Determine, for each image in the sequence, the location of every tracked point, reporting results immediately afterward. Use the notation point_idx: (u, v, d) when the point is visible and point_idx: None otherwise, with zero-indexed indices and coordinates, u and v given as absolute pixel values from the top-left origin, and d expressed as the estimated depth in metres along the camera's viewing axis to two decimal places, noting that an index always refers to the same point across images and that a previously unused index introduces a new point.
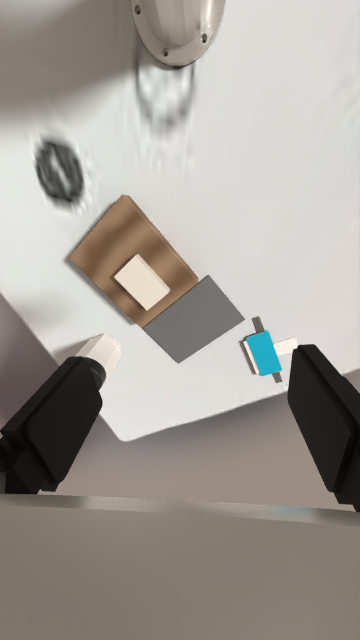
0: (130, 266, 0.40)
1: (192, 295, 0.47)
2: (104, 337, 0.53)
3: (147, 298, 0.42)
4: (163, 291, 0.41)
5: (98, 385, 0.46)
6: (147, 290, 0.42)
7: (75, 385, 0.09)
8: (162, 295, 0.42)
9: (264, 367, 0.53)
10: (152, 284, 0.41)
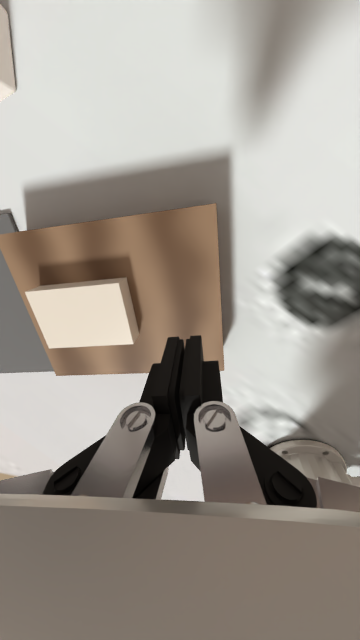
0: (120, 325, 0.20)
1: None
2: None
3: (50, 310, 0.20)
4: (54, 341, 0.22)
5: None
6: (65, 320, 0.20)
7: (182, 362, 0.09)
8: (47, 336, 0.21)
9: None
10: (73, 334, 0.21)
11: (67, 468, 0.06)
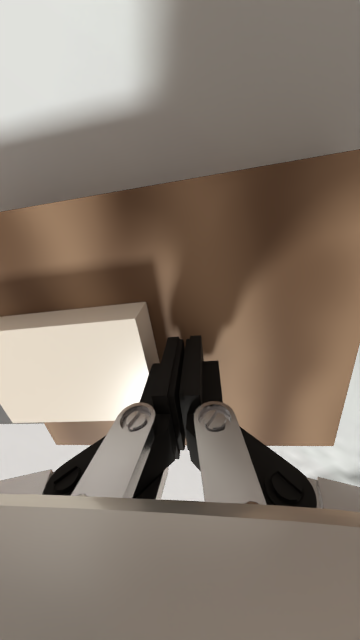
0: (138, 390, 0.11)
1: None
2: None
3: (6, 366, 0.11)
4: (20, 413, 0.12)
5: None
6: (36, 382, 0.11)
7: (182, 362, 0.09)
8: (7, 405, 0.12)
9: None
10: (51, 403, 0.12)
11: (67, 469, 0.06)
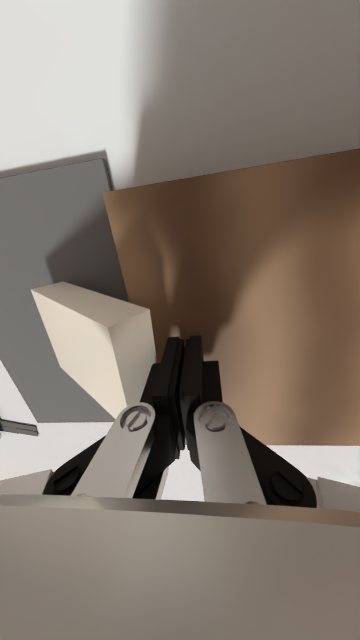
0: (117, 398, 0.10)
1: None
2: None
3: (51, 324, 0.13)
4: (62, 363, 0.15)
5: None
6: (65, 346, 0.13)
7: (182, 362, 0.09)
8: (56, 353, 0.15)
9: None
10: (73, 368, 0.13)
11: (67, 468, 0.06)
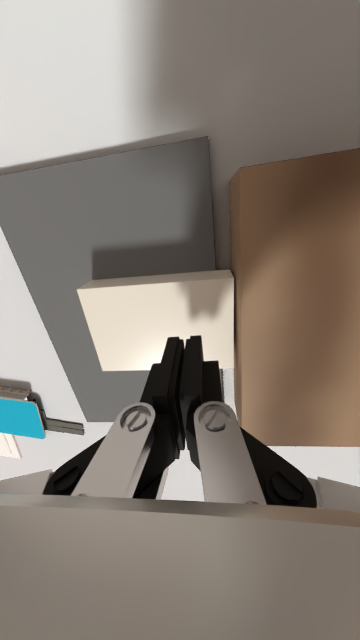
0: (221, 341, 0.13)
1: None
2: None
3: (113, 318, 0.13)
4: (112, 362, 0.15)
5: None
6: (135, 333, 0.14)
7: (182, 362, 0.09)
8: (102, 354, 0.15)
9: None
10: (143, 353, 0.14)
11: (66, 469, 0.06)
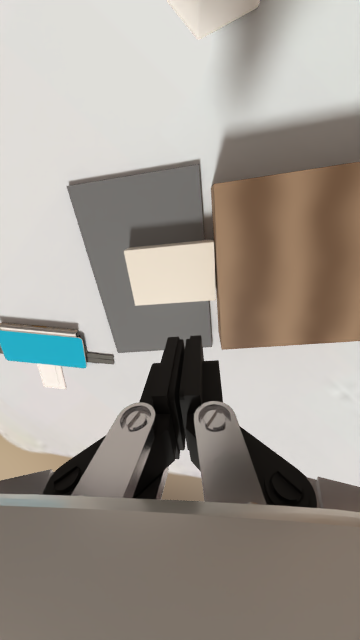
0: (207, 282, 0.23)
1: (198, 310, 0.26)
2: None
3: (144, 268, 0.22)
4: (141, 298, 0.24)
5: None
6: (157, 278, 0.23)
7: (182, 362, 0.09)
8: (136, 293, 0.24)
9: (14, 341, 0.30)
10: (161, 291, 0.23)
11: (67, 468, 0.06)
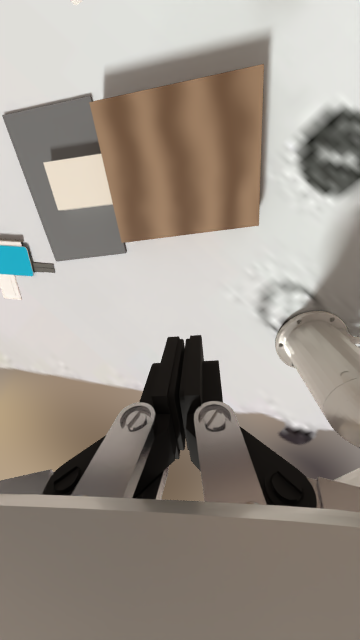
0: (106, 187, 0.31)
1: (110, 219, 0.35)
2: None
3: (59, 177, 0.31)
4: (61, 204, 0.33)
5: None
6: (70, 185, 0.31)
7: (182, 362, 0.09)
8: (57, 199, 0.32)
9: None
10: (74, 197, 0.32)
11: (67, 469, 0.06)
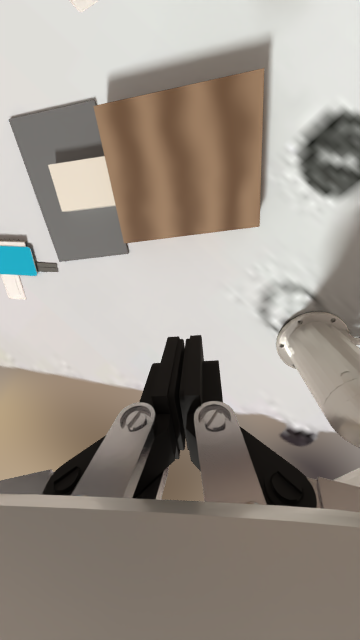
0: (109, 189, 0.32)
1: (113, 220, 0.35)
2: None
3: (64, 179, 0.32)
4: (65, 205, 0.33)
5: None
6: (73, 187, 0.32)
7: (182, 362, 0.09)
8: (61, 201, 0.33)
9: None
10: (78, 198, 0.33)
11: (67, 469, 0.06)
